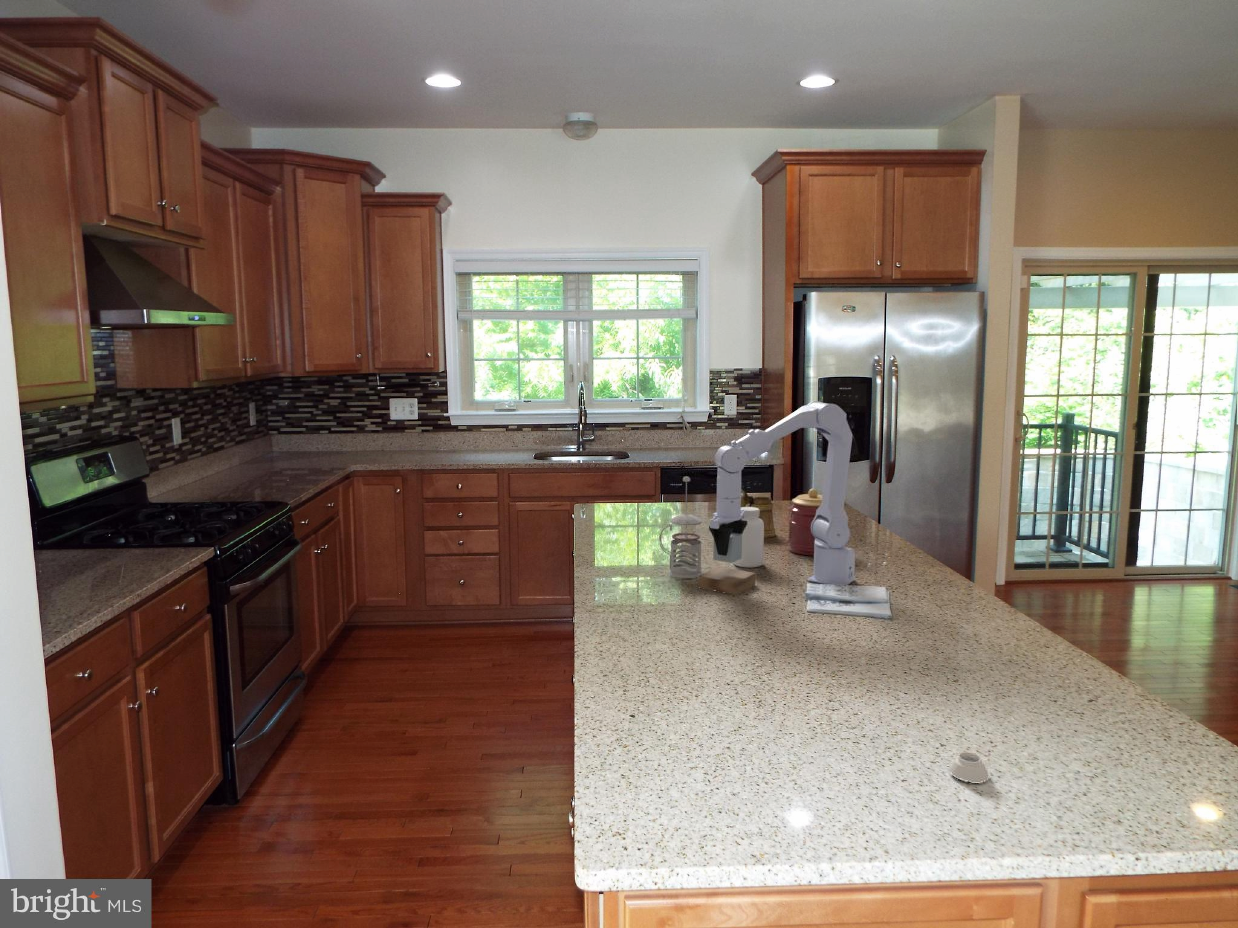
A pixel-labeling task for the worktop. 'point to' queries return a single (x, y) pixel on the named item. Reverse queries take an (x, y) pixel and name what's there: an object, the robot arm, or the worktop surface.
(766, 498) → the brass mortar and pestle
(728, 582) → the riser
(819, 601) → the white bicycle print cloth
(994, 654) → the worktop surface
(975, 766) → the upturned beige bowl
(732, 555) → the slate cube
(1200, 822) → the worktop surface
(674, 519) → the french press
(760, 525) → the pill bottle
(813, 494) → the canister
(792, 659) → the worktop surface
